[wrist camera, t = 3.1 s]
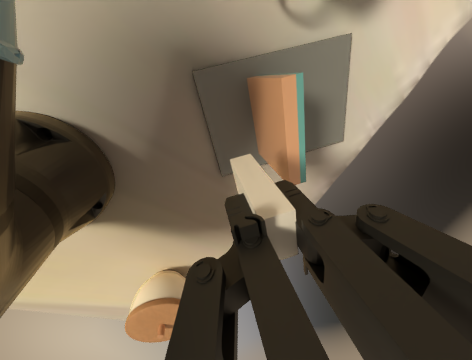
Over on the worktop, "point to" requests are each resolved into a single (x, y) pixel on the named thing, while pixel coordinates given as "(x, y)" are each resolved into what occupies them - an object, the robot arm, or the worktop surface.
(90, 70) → the worktop surface
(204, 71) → the mat
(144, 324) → the lidded jar
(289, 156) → the tile
